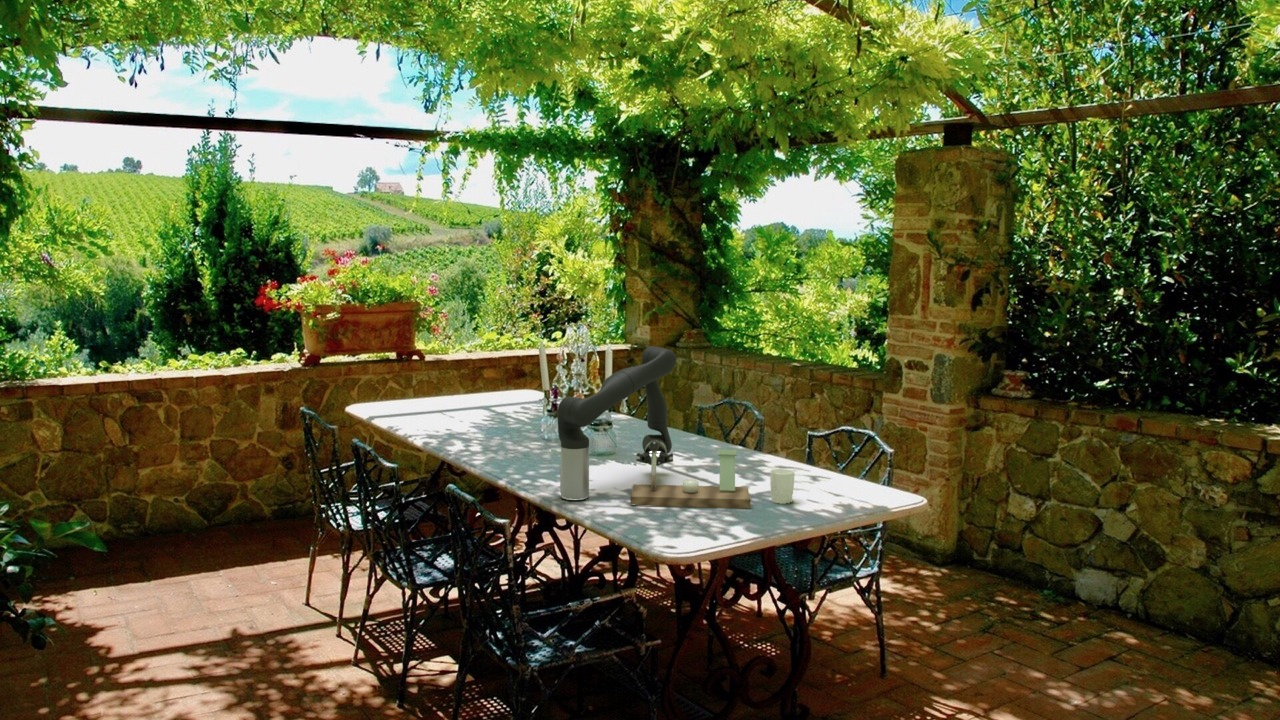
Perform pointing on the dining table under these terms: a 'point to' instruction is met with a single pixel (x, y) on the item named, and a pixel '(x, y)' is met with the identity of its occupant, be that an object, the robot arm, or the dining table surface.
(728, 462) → the sage-green paddle lever
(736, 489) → the walnut switch board
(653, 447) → the steel toggle lever
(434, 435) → the dining table surface
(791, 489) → the white cup
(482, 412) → the dining table surface
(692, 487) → the ivory push button
